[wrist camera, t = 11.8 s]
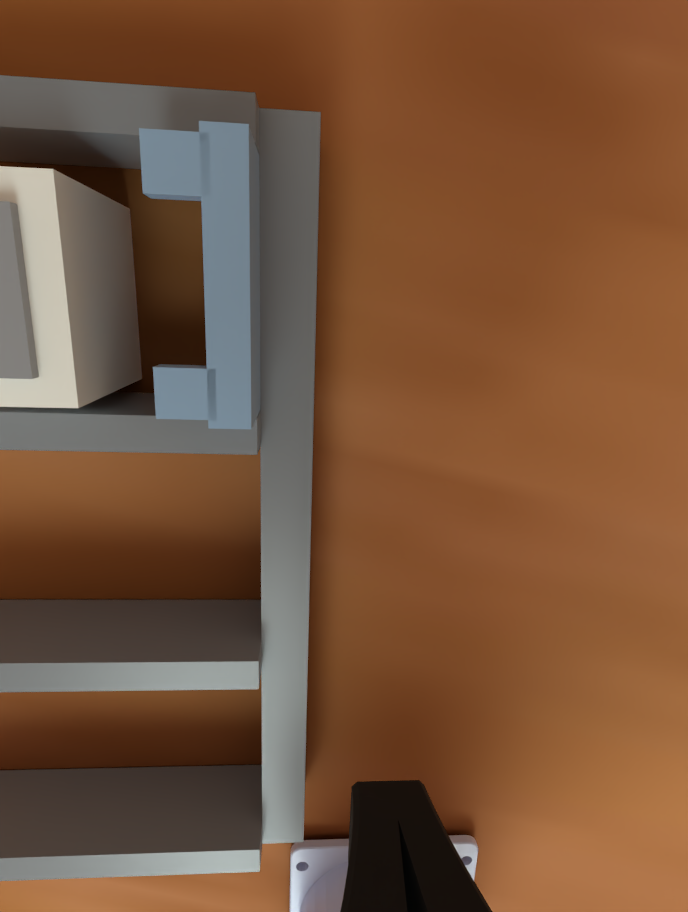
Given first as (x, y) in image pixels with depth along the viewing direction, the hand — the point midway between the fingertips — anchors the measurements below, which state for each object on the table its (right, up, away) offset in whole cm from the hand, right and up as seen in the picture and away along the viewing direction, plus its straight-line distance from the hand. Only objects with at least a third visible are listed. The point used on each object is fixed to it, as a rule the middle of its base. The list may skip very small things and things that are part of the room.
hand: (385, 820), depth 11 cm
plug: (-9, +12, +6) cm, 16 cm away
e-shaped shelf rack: (-8, +5, +8) cm, 12 cm away
